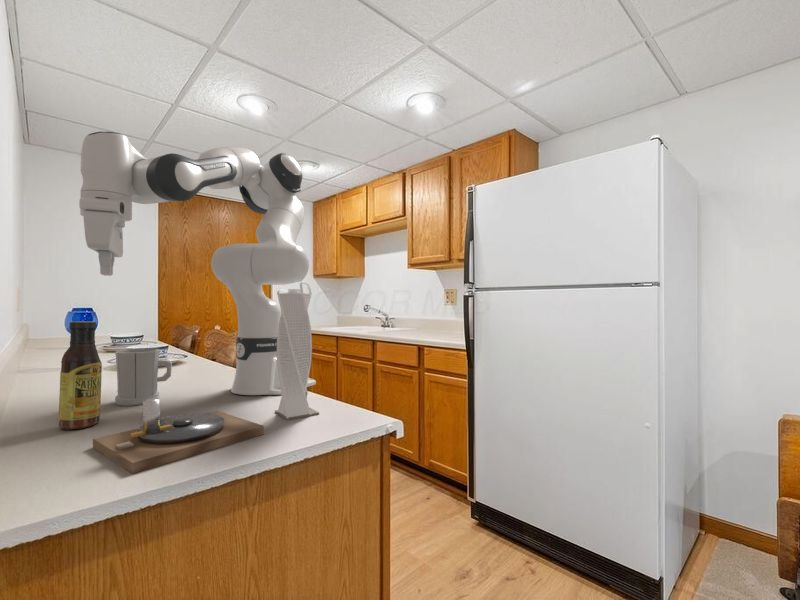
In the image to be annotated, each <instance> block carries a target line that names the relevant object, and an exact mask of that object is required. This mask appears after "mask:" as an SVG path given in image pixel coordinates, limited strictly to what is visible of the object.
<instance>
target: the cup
mask: <svg viewBox="0 0 800 600" xmlns="http://www.w3.org/2000/svg"><path fill="white" fill-rule="evenodd" d="M160 351H161V350H160V349H158V348H147V347H146V348H131V349H129V348H128V349H120V350H116V351H115V362H116V364H115V365H116V374H117V375H116V376H117V377H116V379H117V395H116V396H115V397H114V399H115V401H114V403H115V404H116V405H118V406H125V407H127V406H128V407H129V406H133V407H134V406H143V400H145V399H149V398H160V392H159V391H158V383H159V382H167V381H168V380H169V379H170V378H171V377H172V370H173V369H172V368H173V363H172V361H170V360H169V359H168V360H167V359H160V353H161V352H160ZM159 366H164V367H165V369H166V372H165V373H164V374H163V375H162V376H158V375H159V373H158V372H159Z"/></svg>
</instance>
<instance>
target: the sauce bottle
mask: <svg viewBox="0 0 800 600" xmlns="http://www.w3.org/2000/svg"><path fill="white" fill-rule="evenodd" d="M96 329H97V321H92V320H91V321H88V320H87V321H80V320H79V321H77V320H76V321H70V322H69V331H70V339H69V340H70V341H69V347H68V348H67V349H66V351H65V352H64V354H63V356H62V358H61V362H60V364H61V366H60V367H61V369H60V376H59V401H58V420H59V423H58V427H59V428H60V429H61V430H71V431H72V430H79V429H85V428H89V427H93V426H94V425H96V424H98V423H99V421H100V416H101V399H102V398H101V396H102V369H103V365H102V361H101V358H100V355H99V353H98V349H97V346H96V339H95V338H96V337H95V336H96Z"/></svg>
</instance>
